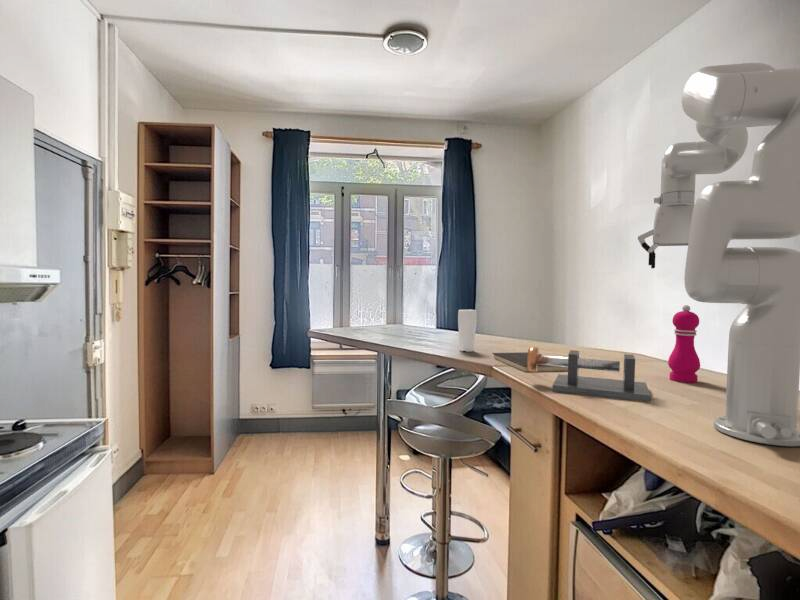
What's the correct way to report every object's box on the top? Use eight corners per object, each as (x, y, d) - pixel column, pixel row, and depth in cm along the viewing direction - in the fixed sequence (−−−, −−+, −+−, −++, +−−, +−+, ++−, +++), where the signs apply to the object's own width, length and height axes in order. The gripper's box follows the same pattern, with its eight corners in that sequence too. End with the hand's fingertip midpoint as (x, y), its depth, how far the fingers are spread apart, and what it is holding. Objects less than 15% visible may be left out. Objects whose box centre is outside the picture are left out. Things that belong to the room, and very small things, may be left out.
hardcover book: (523, 373, 128) (523, 365, 128) (492, 359, 151) (492, 352, 151) (574, 372, 131) (575, 364, 131) (536, 359, 154) (536, 352, 154)
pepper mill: (704, 384, 115) (708, 306, 115) (673, 382, 117) (676, 305, 116) (692, 378, 123) (695, 304, 122) (663, 376, 124) (666, 304, 123)
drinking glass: (454, 349, 167) (455, 309, 166) (470, 349, 169) (471, 309, 168) (462, 352, 161) (463, 310, 160) (479, 352, 163) (480, 310, 162)
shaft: (618, 376, 108) (619, 352, 108) (619, 381, 103) (620, 355, 102) (530, 368, 116) (531, 345, 116) (526, 372, 111) (527, 348, 111)
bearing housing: (645, 388, 109) (646, 353, 109) (650, 402, 97) (652, 362, 96) (558, 379, 118) (559, 347, 117) (552, 391, 105) (553, 355, 104)
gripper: (639, 201, 116) (636, 267, 117) (720, 196, 108) (717, 267, 109) (638, 205, 123) (636, 268, 123) (715, 201, 115) (712, 268, 116)
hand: (674, 268), depth 116 cm, fingers open, 9 cm apart
